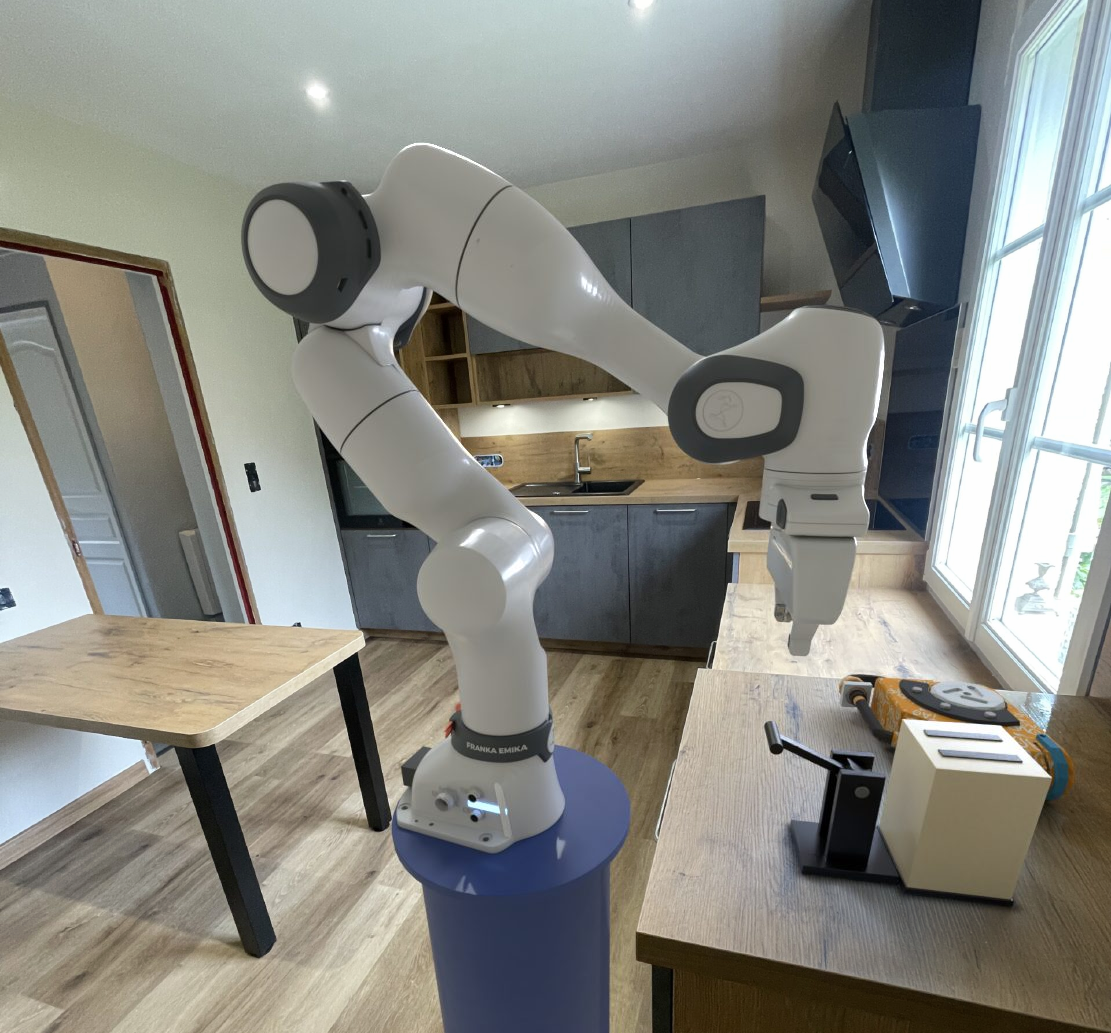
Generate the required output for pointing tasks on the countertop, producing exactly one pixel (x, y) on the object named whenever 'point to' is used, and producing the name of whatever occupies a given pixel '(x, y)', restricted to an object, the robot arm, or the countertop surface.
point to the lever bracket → (847, 827)
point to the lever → (806, 751)
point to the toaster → (961, 810)
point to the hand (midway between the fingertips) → (789, 635)
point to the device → (952, 716)
